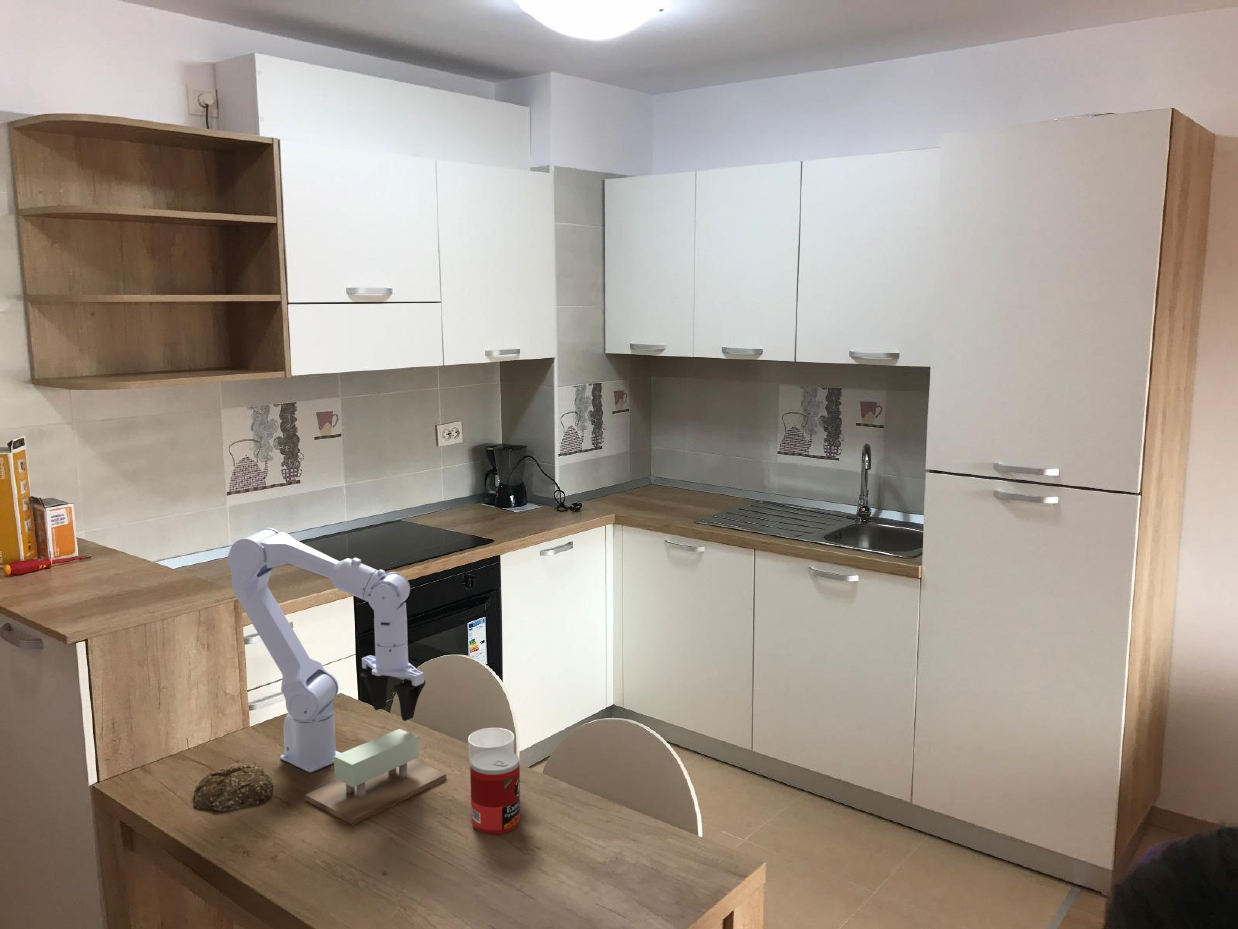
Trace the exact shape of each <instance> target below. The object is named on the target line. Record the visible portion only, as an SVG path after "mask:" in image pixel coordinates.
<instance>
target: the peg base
mask: <svg viewBox="0 0 1238 929" xmlns="http://www.w3.org/2000/svg"><path fill="white" fill-rule="evenodd" d="M443 780H444V781H445V780H447V774H446V773H444V772H442V771H440V770H438V769H435V768H433V767H431V766H429V765H426V764H424V763H422V762H420V761H417V760H416V759H414V760H412V761H410V762H408V763H405V764H403V765H401V766H399V767H397V768H394V769H392V770H390V771H388V772H386V773H383V774H381V775H379V776H377V777H375V778H373V779H370V780H368V781H366V782H364V783H362V784H359V785H357V786H355V787H351V786H349V785H347V784H345V783H343V782H341V781H339V780H337V779H336V780H335V781H333V782H331V783H328V784H326V785H324V786H322V787H319V788H318V789H315V790H313V791H311V792H308V793H306V794H305V795H304V796H305V801H306V802H308V801H309V802H308V803H309V804H312V805H314V806H316V807H317V808H320V809H321V810H324V811H326V812H327V813H329V814H331V815H333V816H335V817H337V818H338V819H340V820H341V821H342V820H343V821H345V822H346V821H347V823H349V825H351V826H354V825H357V824H359V823H360V821H361V822H363V821H364V819H365V820H367V819H369V818H371V817H373V816H374V815H373V814H375V815H377V814H378V812H379V811H381V812H383V811H386V810H387V809H389V808H391V807H393V806H395V805H398V804H400V803H401V802H403V801H406V800H407V799H409V798H411V797H413V796H415V795H417V794H420V793H422V792H423V791H422V790H424V791H425V789H426V790H427V789H429V787H430V788H431V787H433V786H436V785H437V784H440V783H442V782H443ZM435 784H436V785H435ZM421 791H422V792H421ZM419 792H420V793H419ZM414 794H415V795H414ZM408 797H409V798H408ZM406 798H407V799H406ZM400 801H401V802H400ZM394 804H395V805H394ZM392 805H393V806H392ZM390 806H391V807H390ZM386 808H387V809H386ZM376 813H377V814H376ZM379 813H380V812H379ZM372 815H373V816H372ZM366 818H367V819H366ZM358 822H359V823H358Z"/></svg>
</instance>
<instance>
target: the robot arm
mask: <svg viewBox="0 0 1238 929" xmlns="http://www.w3.org/2000/svg"><path fill="white" fill-rule="evenodd" d="M225 561H226V564H227V566H228V567H229V569H230V573H231V576H230V577H231V586H232V590H233V594H234V595H235V597H236V599H237V600H238V602H239V604H240V606H241V607H242V609H243V611H244V612H245V614H246V615H247V617H248V619H249V621H250V622H251V624H252V625H253V627H254V629H255V630H256V632H257V634H258V636H259V638H260V639H261V641H262V643H263V644H264V646H265V648H266V649H267V651H268V652H269V654H270V656H271V657H272V659H273V661H274V664H275V665H276V667H277V668H278V670H279V671H280V673H281V675H282V679H281V687H280V691H281V693H282V695H283V697H284V699H285V708H286V710H287V715H286V716H285V718H284V721H283V725H282V727H283V744H284V745H283V746H284V748H283V749H284V754H281V755H280V759H281V760H282V761H284V762H287V763H289V764H291V765H293V766H295V767H297V768H299V769H301V770H303V771H305V772H308V773H313V772H315V771H318V770H320V769H323V768H326V767H327V766H330V765H333V764H334V756H336V755H338V754H340V753H341V752H340V751H338V750H337V749H336V728H335V725H336V724H335V708H334V701H333V700H335V698H336V697H337V695H338V693H339V682H338V680H337V679H336V677H335V676H334V675H333V674H331V673H330V672H329V671H328V670H326V669H325V668H324V666H323V663H321V662H319V661H317V660H315V659H312V658H310V656H309V654H308V653H307V651H306V649H305V647H304V646H303V644H302V643H301V640H300V639H299V637H298V636H297V634H296V632H295V630H294V629H293V628H292V626H291V624H290V622H289V620H288V619H287V617H286V615H285V613H284V612H283V610H282V608H281V606H280V605H279V603H278V601H277V600H276V598H275V597H274V595H273V592H272V591H271V590H270V588H269V586H268V583H269V580H270V578H271V574H272V572H273V569H274V568H275V567H279V566H283V565H292V566H295V567H298V568H299V569H303V570H306V571H309V572H310V573H314V574H317V575H320V576H323V577H326V578H329V579H330V581H331V583H332V585H333V587H334V588H335V589H337V590H340V591H342V592H344V593H347V594H349V595H351V596H354V597H357V598H358V599H361V600H363V601H366V602H368V604H369V606H370V608H372V610H373V614H374V616H373V617H374V618H373V623H374V624H373V626H374V628H373V629H374V650H375V651H374V653H375V654H374V655H371V654H370V655H367V656H364V657H362V658H361V668H362V669H365V671H363V672H362V673H360V674H359V675H360V679H361V680H362V681H363V683H364V685H365V688H366V689H367V691H368V694H369V696H370V699H371V700H370V701H371V703H372V706H373V709H374V710H375V711H379V710H381V709H384V708H386V706H387V695H388V694H387V693H388V690H387V689H388V681H389V678H390V677H393V678H396V679H400V680H402V681H403V682H400V683H397V684H395V685H393V688H394V690H395V692H396V694H397V697H398V702H399V707H400V708H399V709H400V716H401V720H402V721H403V722H406V721H409V720H411V719H413V718H414V716H415V713H416V712H415V711H416V707H417V703H418V700H419V697H420V695H421V692H422V690H423V689H424V687H425V686H426V680H425V675H424V672H423V671H420V670H418V669H417V668H416V667H415V666H414V665H412V664H411V663H410V662H409V648H408V647H409V646H408V643H409V642H408V617H407V616H408V615H407V602H405V601H406V600H407V599H408V597H409V596H410V592H411V585H410V582H409V581H408V579H407V577H405V576H404V575H402V574H401V573H400V572H398V571H391V572H387V573H386V571H385V570H383V569H379V570H378V569H376V568H373V567H371V566H368V565H367V564H364V563H362V559H361V558H358V557H354V558H345V559H342V560H338V559H335V558H333V557H331V556H329V555H327V554H325V553H323V552H321V551H319V550H317V549H315V548H313V547H311V546H310V545H306V544H304V543H303V542H300V541H298V540H296V539H295V538H293V537H292V536H291V535H289V533H286V532H282V531H281V532H280V531H278V529H275V528H272V527H264V528H261V529H259V530H258V531H257V532H255V533H253V534H250V535H248V536H246V537H245V538H243V537H242V538H239V539H238V540H236V541H235V542H234V543H233V544H232V546H231V547H230V550H229V552H228V555H227V557H226V560H225Z"/></svg>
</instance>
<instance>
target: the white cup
mask: <svg viewBox="0 0 1238 929" xmlns="http://www.w3.org/2000/svg"><path fill="white" fill-rule="evenodd" d="M467 744H468V757H469V759H468V760H469V764H470V763H471V758H472V757H473V756H474V755H476V754H477V753H480V752H483V751H487V750H506V751H510V752H512V753H515V734H514V732H512V731H511V730H509V729H506V728H502V727H487V728H485V727H484V728H481V729H477V730H475V731H473V732H472V733H470V734H469V735H468V738H467Z"/></svg>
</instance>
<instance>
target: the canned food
mask: <svg viewBox="0 0 1238 929" xmlns="http://www.w3.org/2000/svg"><path fill="white" fill-rule="evenodd" d="M519 758H520V757H519V756H518V755H517V754H516V753H515V752H514V753H512V752H510V751H506V750H487V751H483V752H480V753H477V754H476V755H474V756H473V757H472V758H471V763H470V762H469V772H470V773H469V774H470V805H471V806H470V812H471V817H470V818H471V822H472V826H473V828H474V829H476V830H477V831H478V832H481V833H483V834H487V835H501V834H506V833H509V832H512V831H514V830H515V829H516V828H517V827H518V825H519V823H520V818H521V791H520V790H521V789H520V787H521V780H520V778H521V777H520V776H521V775H520V774H521V772H520V770H521V769H520V768H521V767H520V759H519Z"/></svg>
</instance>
